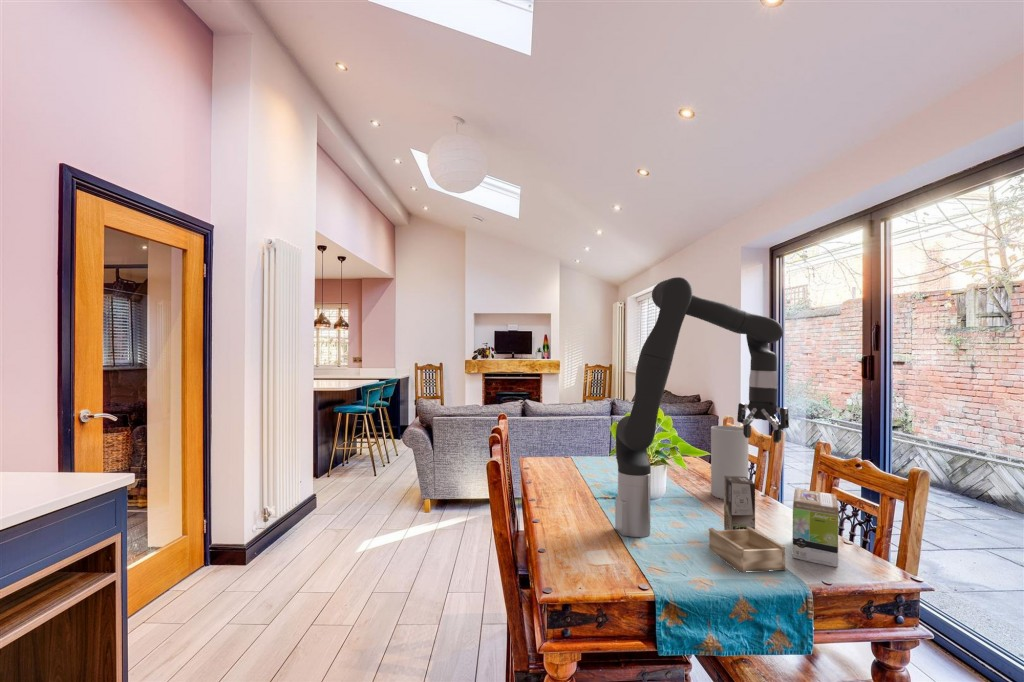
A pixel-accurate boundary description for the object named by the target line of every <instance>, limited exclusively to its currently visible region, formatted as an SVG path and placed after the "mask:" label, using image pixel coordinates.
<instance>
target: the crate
mask: <svg viewBox="0 0 1024 682" xmlns="http://www.w3.org/2000/svg"><path fill="white" fill-rule="evenodd" d="M708 532H709V533H708V535H709V537H708V538H709V539H708V542H709V543H708V544H709V545H708V546H709V548H708V550H710V552H712V553H713V554H714V553H715V556H717V557H718V556H719V558H720V560H722V559H723V562H725V563H726V562H727V563H726V564H727V565H729V564H730V565H731V566H730V565H729V566H730V567H732V568H733V567H734V568H735V569H734V568H733V569H734V570H736V571H737V570H738V571H739V573H740V572H745V573H747V572H746V571H767V572H770V571H769V570H785V571H786V548H787V547H786V546H785V545H783V544H781V543H779V542H777V541H775V540H774V539H772V538H771V537H769V536H767V535H765V534H764V533H762V532H760V531H759V530H757V529H756V528H755V529H753V528H751V527H746V529H738V530H724V529H714V528H713V527H709V528H708ZM738 571H737V572H738Z"/></svg>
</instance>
